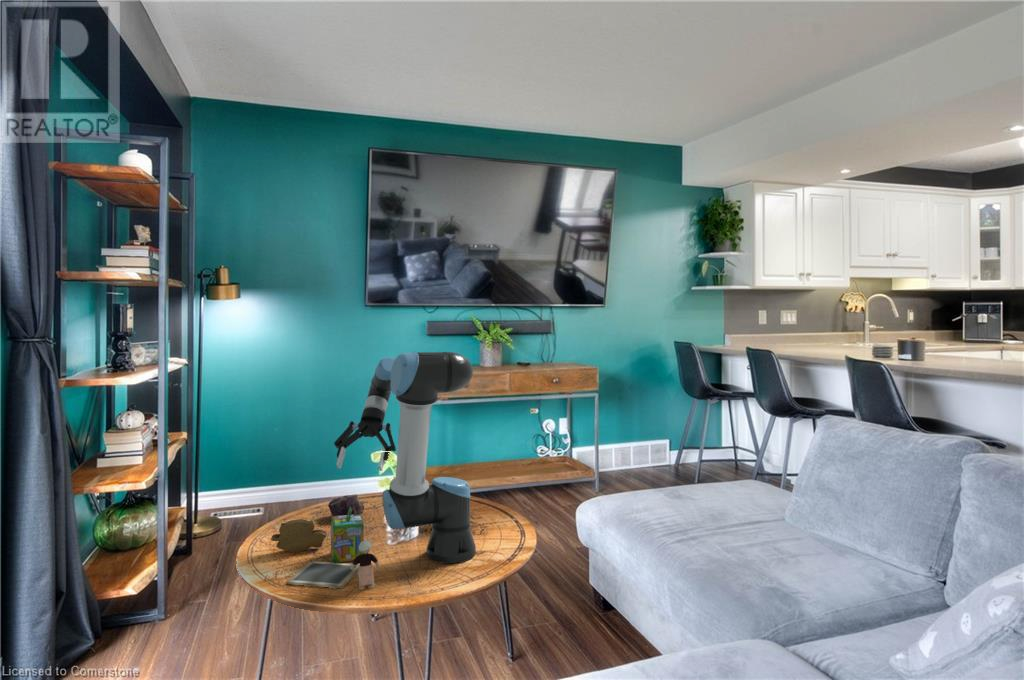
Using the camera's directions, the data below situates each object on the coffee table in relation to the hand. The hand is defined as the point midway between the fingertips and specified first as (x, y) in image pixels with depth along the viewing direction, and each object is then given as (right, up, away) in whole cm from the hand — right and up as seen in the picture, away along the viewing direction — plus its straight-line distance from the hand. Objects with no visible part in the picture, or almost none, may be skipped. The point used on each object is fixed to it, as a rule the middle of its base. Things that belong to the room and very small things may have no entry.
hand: (359, 468), depth 184 cm
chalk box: (-2, -26, -7) cm, 27 cm away
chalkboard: (-4, -26, -21) cm, 34 cm away
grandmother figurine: (+9, -26, -28) cm, 40 cm away
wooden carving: (-18, -26, -3) cm, 31 cm away
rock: (-12, -25, +28) cm, 39 cm away
